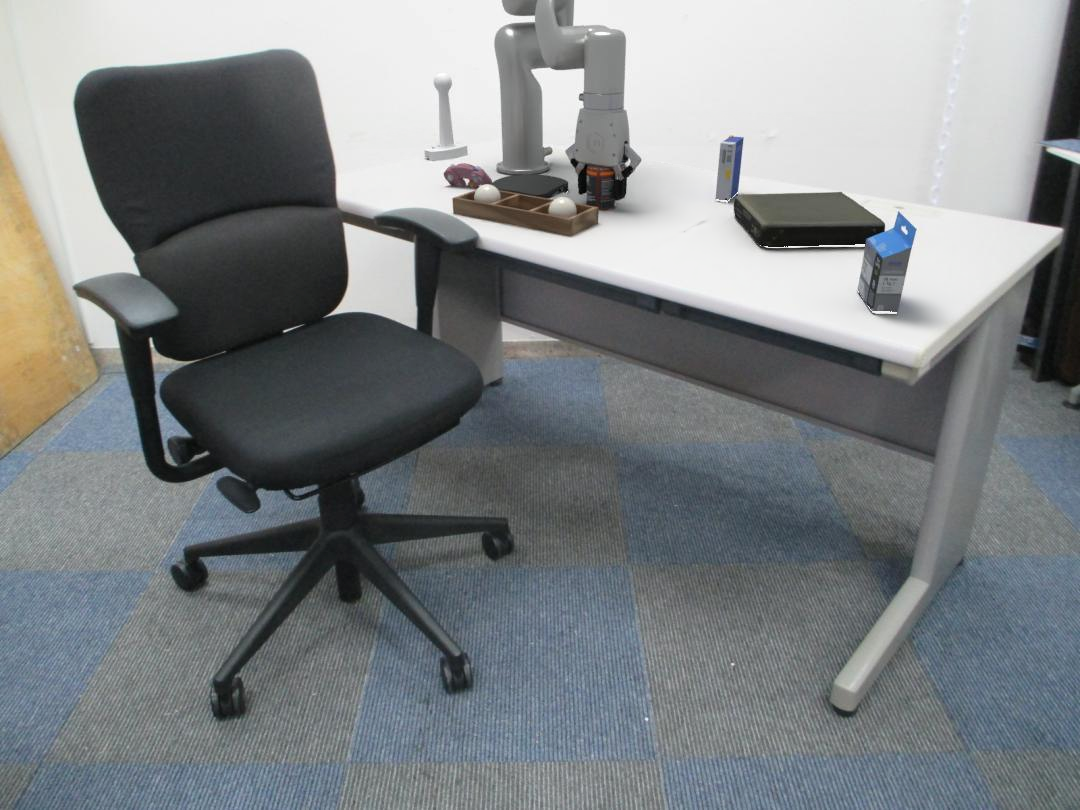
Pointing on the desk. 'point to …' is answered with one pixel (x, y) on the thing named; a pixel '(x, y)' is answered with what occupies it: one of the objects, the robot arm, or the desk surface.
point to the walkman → (729, 167)
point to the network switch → (806, 219)
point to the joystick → (445, 124)
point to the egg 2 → (562, 207)
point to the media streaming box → (532, 185)
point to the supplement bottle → (601, 187)
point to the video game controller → (466, 175)
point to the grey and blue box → (886, 266)
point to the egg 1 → (487, 194)
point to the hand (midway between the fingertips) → (601, 195)
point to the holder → (526, 213)
